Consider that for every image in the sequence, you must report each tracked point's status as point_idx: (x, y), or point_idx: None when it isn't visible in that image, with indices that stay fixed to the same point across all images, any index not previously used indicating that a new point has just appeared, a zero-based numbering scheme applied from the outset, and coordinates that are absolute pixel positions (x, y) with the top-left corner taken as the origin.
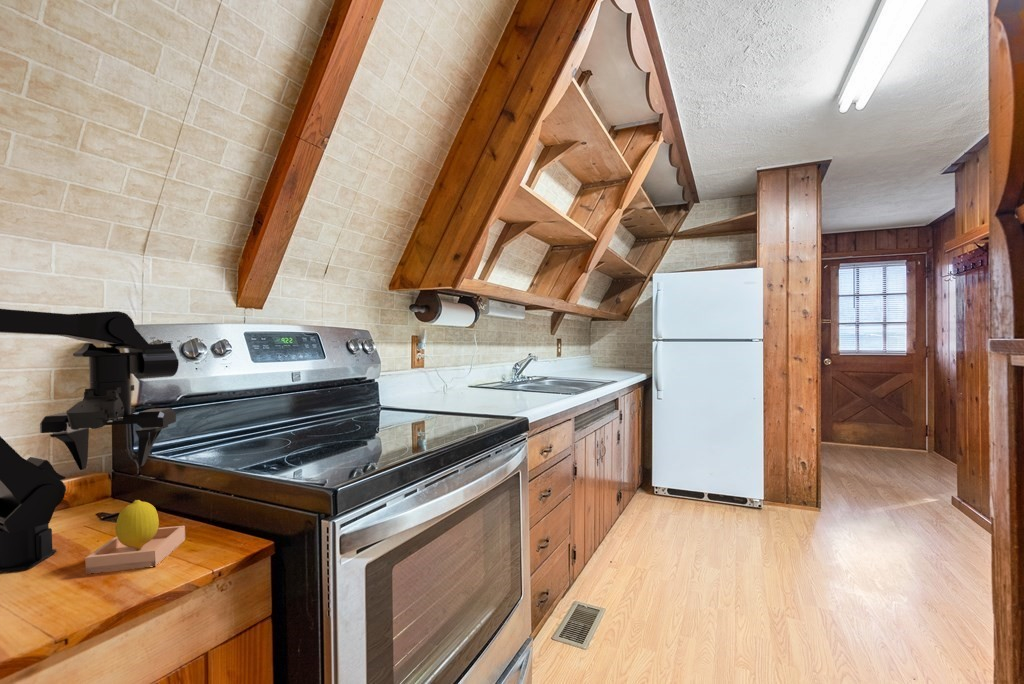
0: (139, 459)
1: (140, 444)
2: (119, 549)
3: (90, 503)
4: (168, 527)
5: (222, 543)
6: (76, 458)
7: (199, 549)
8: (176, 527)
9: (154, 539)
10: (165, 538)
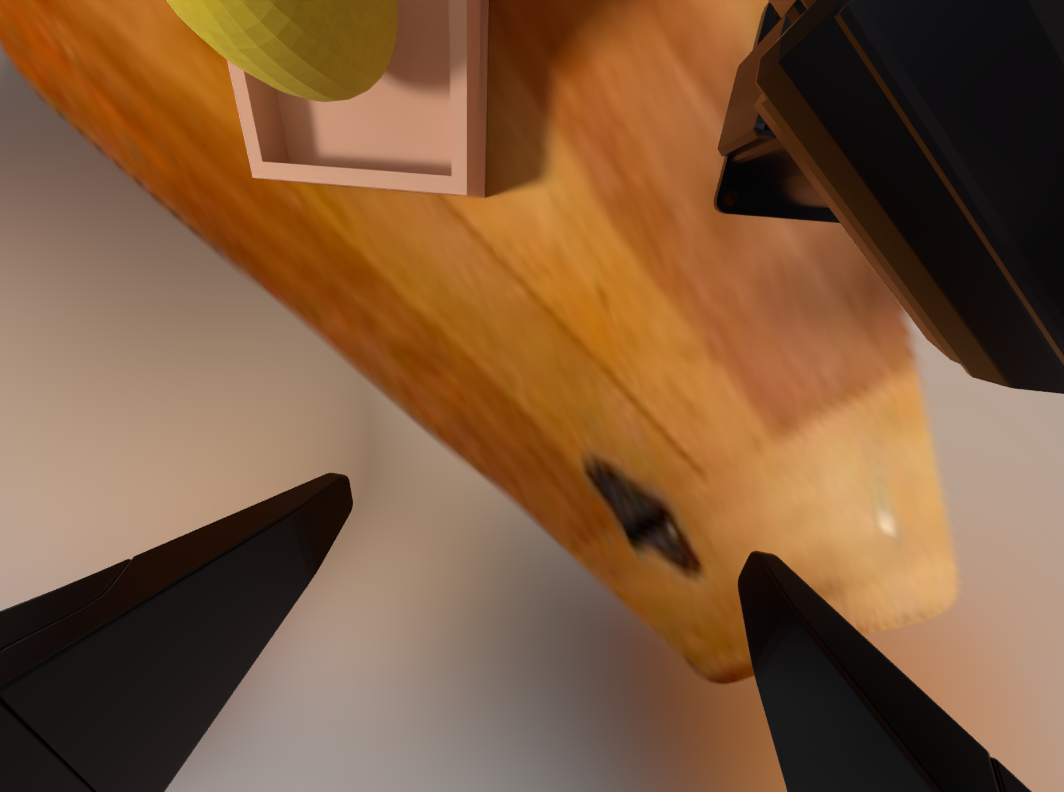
0: (296, 502)
1: (86, 611)
2: (444, 64)
3: (747, 659)
4: (304, 174)
5: (144, 88)
6: (862, 654)
7: (188, 42)
8: (273, 164)
9: (363, 155)
10: (326, 150)
